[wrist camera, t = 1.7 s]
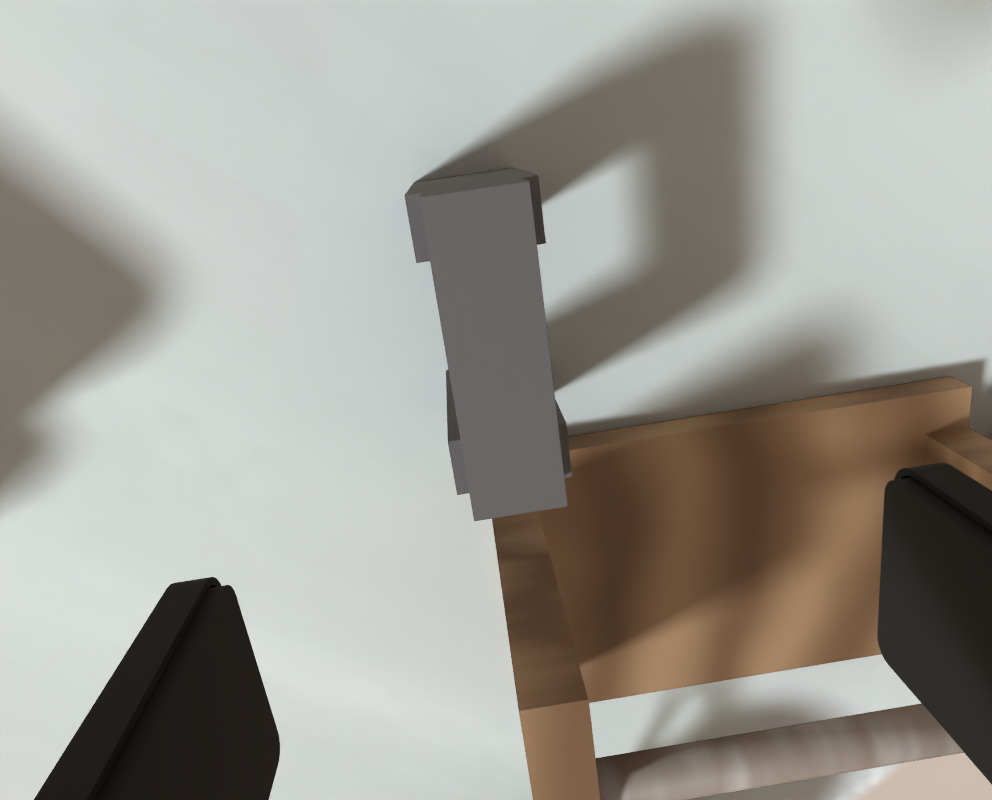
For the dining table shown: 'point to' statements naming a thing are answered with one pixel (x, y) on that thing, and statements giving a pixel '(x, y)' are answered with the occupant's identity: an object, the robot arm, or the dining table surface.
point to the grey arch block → (494, 338)
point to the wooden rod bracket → (719, 583)
